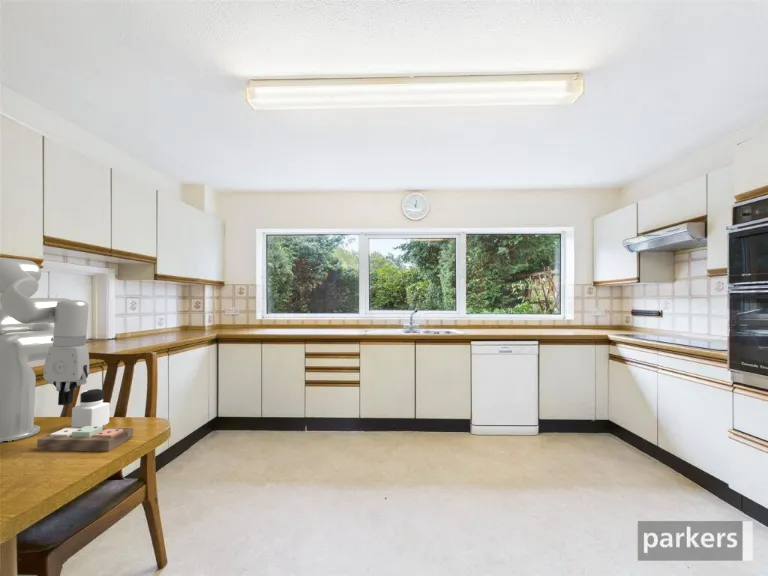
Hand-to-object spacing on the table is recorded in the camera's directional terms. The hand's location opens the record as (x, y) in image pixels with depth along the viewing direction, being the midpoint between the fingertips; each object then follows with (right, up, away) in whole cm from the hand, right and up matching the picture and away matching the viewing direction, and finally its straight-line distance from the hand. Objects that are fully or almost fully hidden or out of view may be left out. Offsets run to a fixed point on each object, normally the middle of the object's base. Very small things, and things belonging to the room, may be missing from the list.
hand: (65, 403), depth 109 cm
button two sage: (+7, -10, 0) cm, 12 cm away
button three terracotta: (+13, -11, 0) cm, 17 cm away
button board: (+7, -12, 0) cm, 13 cm away
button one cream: (+1, -10, 0) cm, 10 cm away
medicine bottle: (-3, -12, +13) cm, 18 cm away
